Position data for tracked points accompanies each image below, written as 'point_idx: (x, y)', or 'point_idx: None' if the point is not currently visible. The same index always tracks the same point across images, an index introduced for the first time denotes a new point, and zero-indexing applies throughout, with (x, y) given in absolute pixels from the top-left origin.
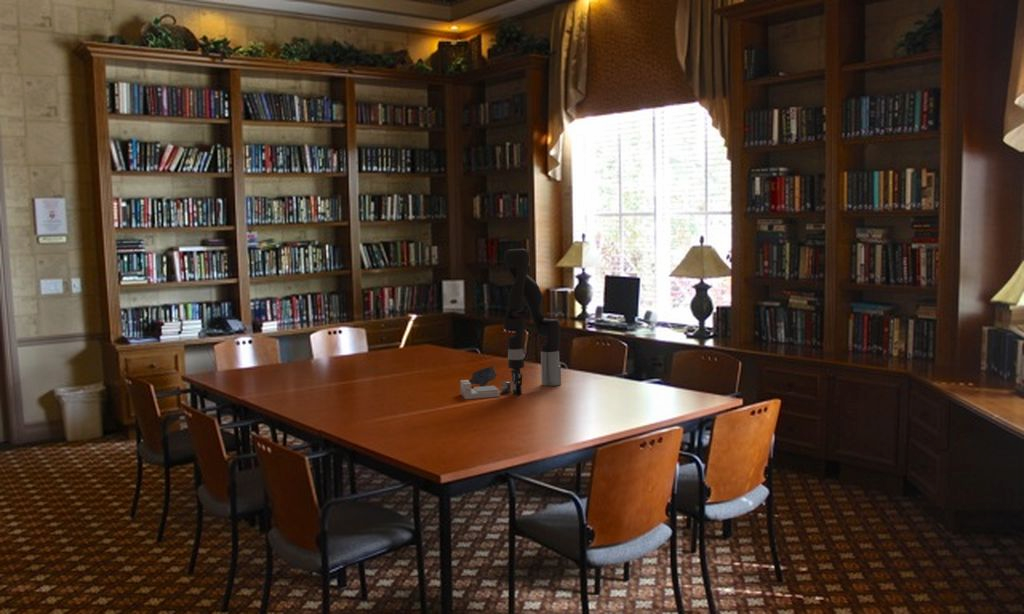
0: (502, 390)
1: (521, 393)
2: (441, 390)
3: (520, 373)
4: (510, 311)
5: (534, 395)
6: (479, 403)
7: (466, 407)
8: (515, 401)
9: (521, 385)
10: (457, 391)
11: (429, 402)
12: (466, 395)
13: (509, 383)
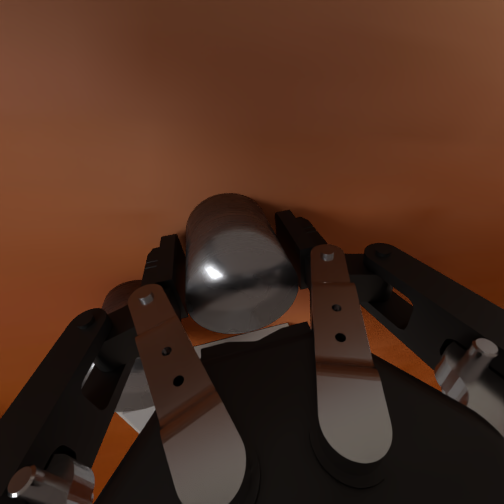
0: None
1: (247, 199)
2: (94, 497)
3: (383, 412)
4: None
5: (354, 51)
6: (396, 364)
7: (431, 380)
8: (470, 234)
9: (254, 237)
10: (115, 467)
11: None
12: None
13: None
